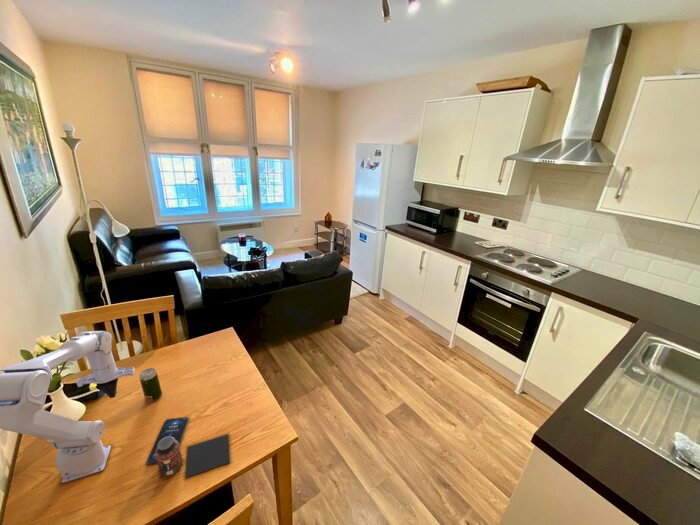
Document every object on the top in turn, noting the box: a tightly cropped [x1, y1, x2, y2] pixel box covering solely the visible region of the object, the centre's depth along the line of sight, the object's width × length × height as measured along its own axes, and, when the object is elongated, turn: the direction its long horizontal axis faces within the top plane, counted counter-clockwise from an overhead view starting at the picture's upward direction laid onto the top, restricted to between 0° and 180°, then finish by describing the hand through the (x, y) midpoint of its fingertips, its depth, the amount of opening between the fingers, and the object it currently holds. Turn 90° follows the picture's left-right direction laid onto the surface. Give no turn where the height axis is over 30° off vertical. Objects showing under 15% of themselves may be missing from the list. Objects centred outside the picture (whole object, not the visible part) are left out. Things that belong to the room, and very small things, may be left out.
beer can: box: [139, 367, 163, 403], centre depth 107 cm, size 5×5×12 cm
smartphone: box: [146, 416, 189, 465], centre depth 94 cm, size 8×1×15 cm
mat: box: [185, 434, 231, 479], centre depth 90 cm, size 12×10×1 cm
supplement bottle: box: [155, 436, 183, 477], centre depth 84 cm, size 6×6×11 cm
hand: (113, 395), depth 96 cm, fingers closed
